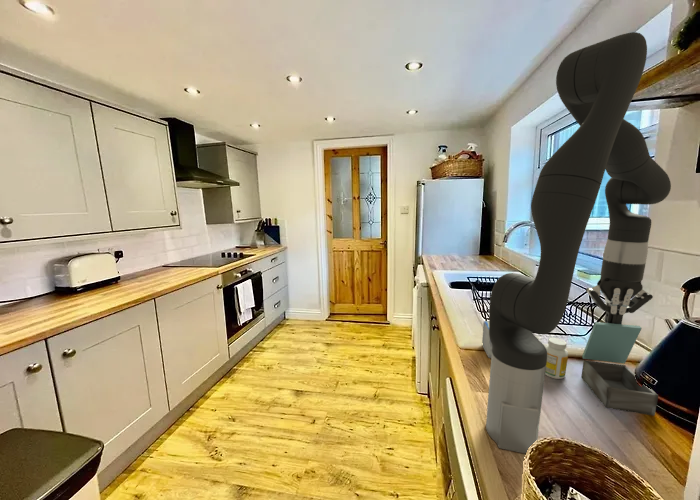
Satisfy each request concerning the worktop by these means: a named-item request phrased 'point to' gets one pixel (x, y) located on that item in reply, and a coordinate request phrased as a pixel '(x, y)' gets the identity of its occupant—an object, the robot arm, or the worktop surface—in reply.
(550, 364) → the supplement bottle
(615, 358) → the lid
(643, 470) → the worktop surface
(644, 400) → the storage box
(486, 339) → the medicine box
